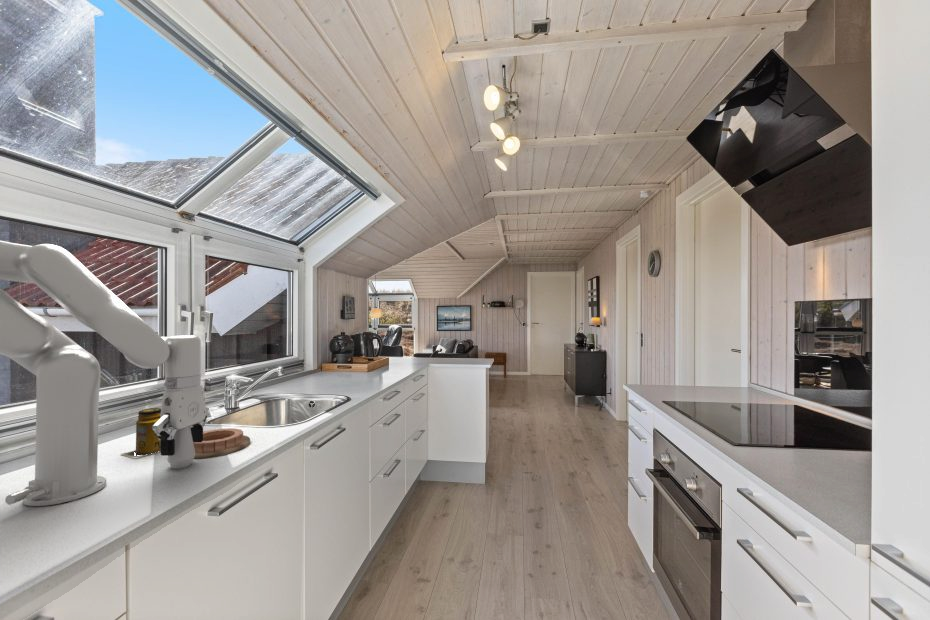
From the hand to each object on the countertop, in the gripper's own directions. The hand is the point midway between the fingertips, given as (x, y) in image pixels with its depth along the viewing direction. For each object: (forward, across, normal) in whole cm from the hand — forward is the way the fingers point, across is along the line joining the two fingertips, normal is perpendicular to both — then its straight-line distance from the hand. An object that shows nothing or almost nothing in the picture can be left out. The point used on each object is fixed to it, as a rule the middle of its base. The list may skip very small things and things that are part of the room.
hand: (182, 448), depth 99 cm
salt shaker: (+5, 0, 0) cm, 5 cm away
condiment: (+5, +9, +18) cm, 21 cm away
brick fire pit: (+5, +14, +1) cm, 15 cm away
